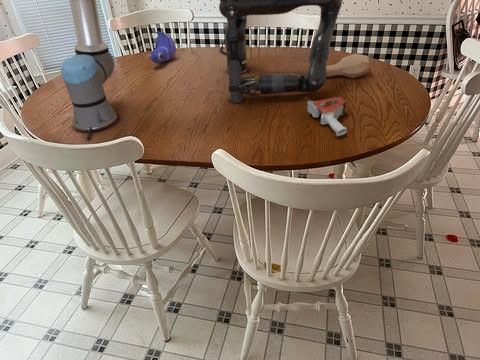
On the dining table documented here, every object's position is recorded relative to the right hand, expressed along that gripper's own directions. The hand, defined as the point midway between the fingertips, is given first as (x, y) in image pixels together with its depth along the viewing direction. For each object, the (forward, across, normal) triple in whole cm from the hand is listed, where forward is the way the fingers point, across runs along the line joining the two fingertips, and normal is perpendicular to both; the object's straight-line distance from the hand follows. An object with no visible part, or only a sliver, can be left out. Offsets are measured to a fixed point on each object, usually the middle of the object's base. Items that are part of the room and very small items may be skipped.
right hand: (229, 86), depth 140 cm
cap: (-3, 0, -13) cm, 13 cm away
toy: (+36, -53, +6) cm, 64 cm away
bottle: (-3, 0, +6) cm, 7 cm away
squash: (-51, -21, +6) cm, 56 cm away
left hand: (-3, 0, -11) cm, 12 cm away
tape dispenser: (-35, +22, +6) cm, 42 cm away
